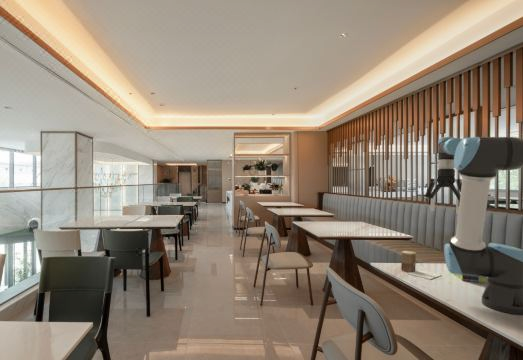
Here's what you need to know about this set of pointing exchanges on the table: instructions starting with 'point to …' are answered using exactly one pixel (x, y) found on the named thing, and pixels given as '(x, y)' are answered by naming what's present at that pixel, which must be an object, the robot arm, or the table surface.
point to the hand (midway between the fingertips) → (444, 212)
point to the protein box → (471, 278)
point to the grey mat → (424, 274)
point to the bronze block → (408, 261)
